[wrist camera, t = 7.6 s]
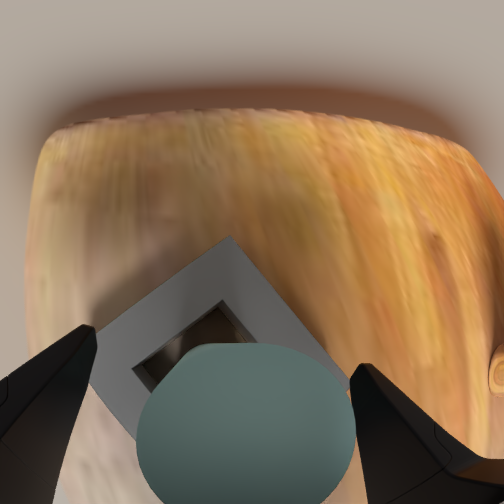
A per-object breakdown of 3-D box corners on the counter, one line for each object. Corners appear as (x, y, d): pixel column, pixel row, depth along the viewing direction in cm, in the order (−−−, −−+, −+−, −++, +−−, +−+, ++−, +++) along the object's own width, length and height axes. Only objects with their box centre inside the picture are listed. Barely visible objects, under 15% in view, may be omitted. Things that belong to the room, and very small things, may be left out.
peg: (257, 379, 17) (388, 437, 5) (207, 418, 15) (240, 556, 3) (215, 330, 17) (267, 295, 5) (164, 369, 16) (90, 428, 4)
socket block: (330, 379, 17) (353, 384, 15) (202, 483, 14) (205, 505, 11) (224, 251, 19) (230, 235, 16) (88, 353, 15) (69, 354, 12)
